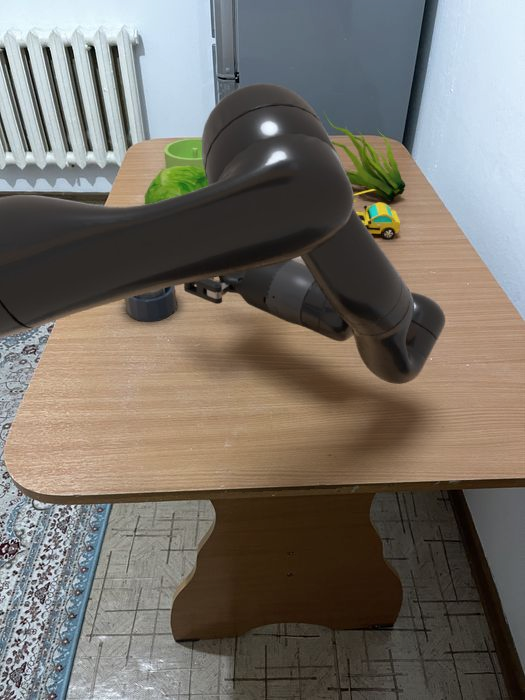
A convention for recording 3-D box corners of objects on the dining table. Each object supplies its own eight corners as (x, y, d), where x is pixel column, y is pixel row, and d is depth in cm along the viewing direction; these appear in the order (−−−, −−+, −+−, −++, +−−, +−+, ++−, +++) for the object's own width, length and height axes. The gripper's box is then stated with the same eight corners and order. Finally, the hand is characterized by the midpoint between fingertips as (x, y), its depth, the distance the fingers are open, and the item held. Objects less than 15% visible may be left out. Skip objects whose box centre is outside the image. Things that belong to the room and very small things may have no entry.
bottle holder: (120, 319, 92) (116, 299, 89) (135, 292, 98) (132, 272, 96) (169, 323, 91) (166, 302, 88) (181, 295, 97) (179, 275, 95)
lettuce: (158, 218, 125) (226, 230, 126) (131, 246, 105) (212, 260, 105) (163, 149, 119) (235, 162, 119) (136, 165, 99) (222, 180, 99)
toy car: (392, 224, 119) (398, 185, 113) (398, 241, 113) (405, 202, 107) (335, 223, 119) (338, 185, 113) (338, 240, 113) (342, 201, 107)
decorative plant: (341, 158, 148) (346, 99, 139) (407, 202, 127) (419, 135, 117) (279, 168, 142) (280, 107, 133) (337, 216, 121) (343, 147, 112)
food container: (157, 181, 136) (151, 127, 128) (180, 159, 146) (175, 109, 138) (257, 193, 130) (257, 138, 122) (273, 170, 141) (274, 118, 133)
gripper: (318, 242, 75) (225, 209, 82) (252, 288, 66) (154, 246, 73) (315, 290, 79) (226, 254, 87) (252, 339, 71) (160, 294, 78)
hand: (193, 250), depth 80 cm, fingers open, 8 cm apart
